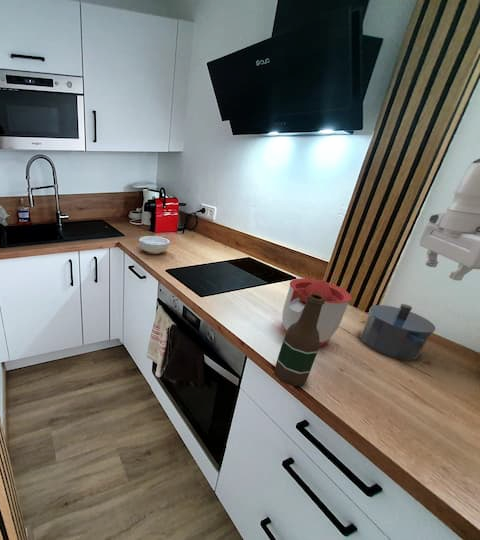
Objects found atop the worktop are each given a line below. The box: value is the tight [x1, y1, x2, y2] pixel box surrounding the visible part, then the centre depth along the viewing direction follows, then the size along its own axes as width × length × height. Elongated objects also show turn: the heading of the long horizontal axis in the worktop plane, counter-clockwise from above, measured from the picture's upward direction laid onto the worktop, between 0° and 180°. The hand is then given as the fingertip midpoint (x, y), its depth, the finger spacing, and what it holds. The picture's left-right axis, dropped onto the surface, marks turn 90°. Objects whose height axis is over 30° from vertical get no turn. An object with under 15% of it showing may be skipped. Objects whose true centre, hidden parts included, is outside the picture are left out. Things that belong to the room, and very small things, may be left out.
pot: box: [359, 313, 432, 361], centre depth 87 cm, size 14×19×10 cm
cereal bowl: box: [138, 235, 171, 255], centre depth 160 cm, size 17×17×7 cm
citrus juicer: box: [281, 277, 352, 347], centre depth 88 cm, size 16×17×20 cm
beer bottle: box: [273, 294, 324, 388], centre depth 70 cm, size 8×8×24 cm
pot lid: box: [368, 303, 436, 335], centre depth 84 cm, size 15×15×5 cm
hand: (441, 272), depth 78 cm, fingers open, 8 cm apart
